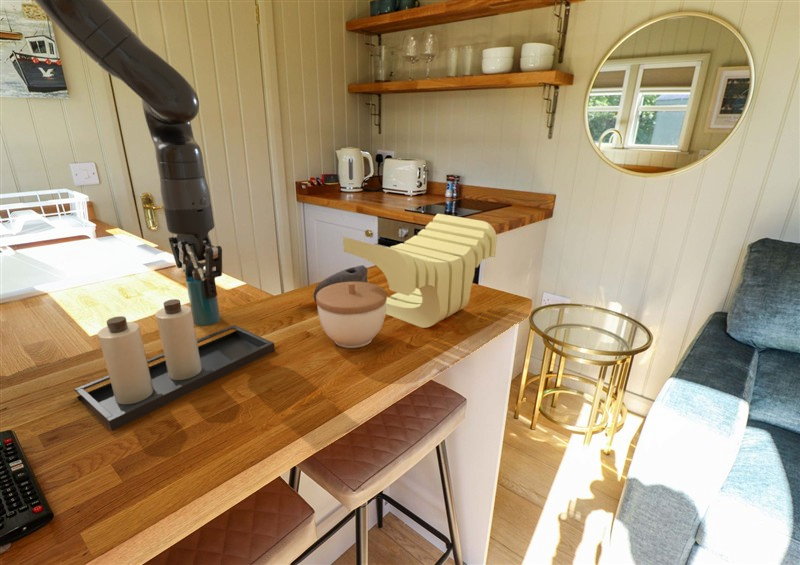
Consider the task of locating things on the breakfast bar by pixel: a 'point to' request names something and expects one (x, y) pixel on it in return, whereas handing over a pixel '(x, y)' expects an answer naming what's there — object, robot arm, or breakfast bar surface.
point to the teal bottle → (201, 302)
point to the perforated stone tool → (344, 278)
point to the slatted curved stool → (431, 267)
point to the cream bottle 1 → (125, 360)
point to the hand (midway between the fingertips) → (202, 293)
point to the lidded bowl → (351, 312)
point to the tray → (215, 364)
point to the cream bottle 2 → (178, 340)
